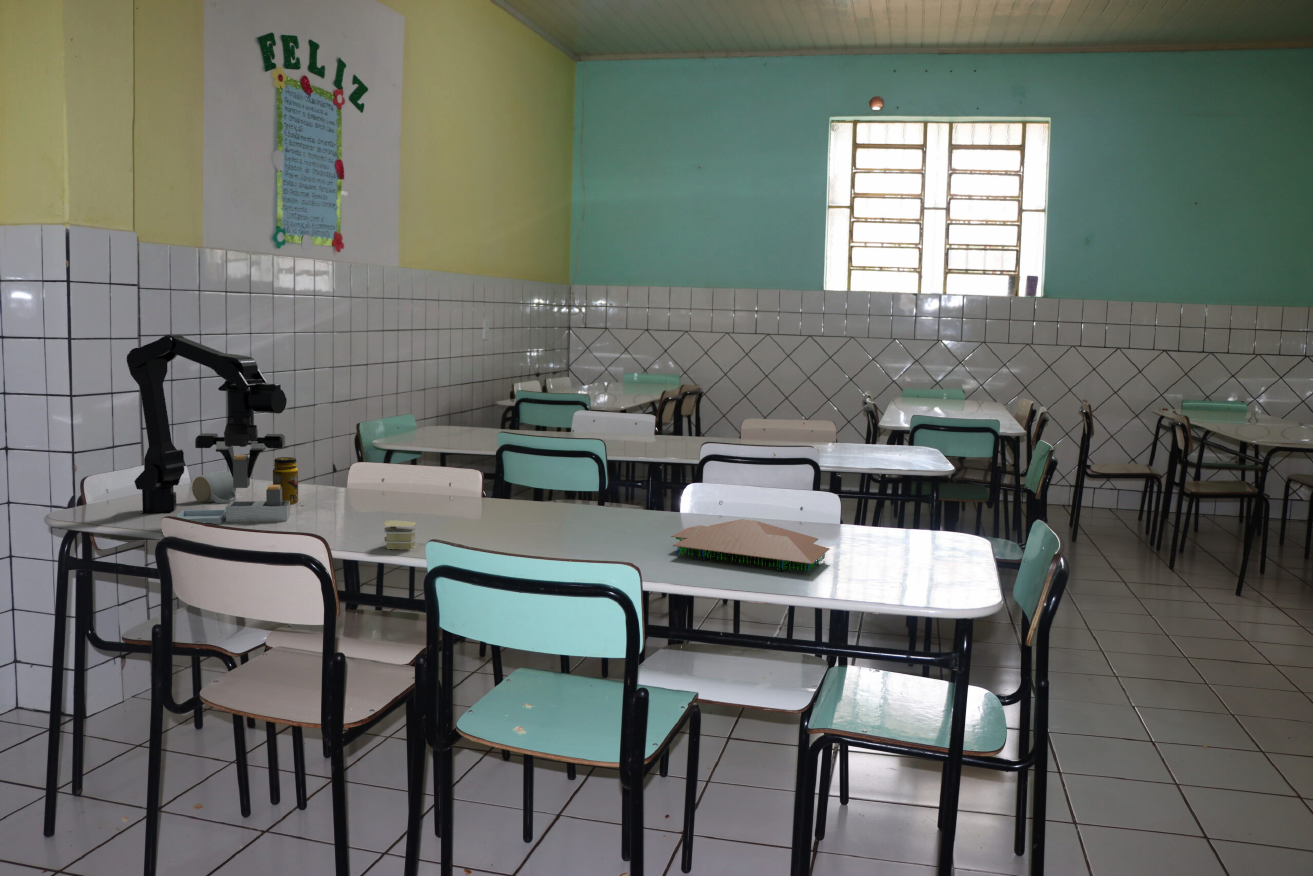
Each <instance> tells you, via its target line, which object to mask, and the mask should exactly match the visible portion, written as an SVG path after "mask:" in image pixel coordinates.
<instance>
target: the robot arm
mask: <svg viewBox="0 0 1313 876" xmlns="http://www.w3.org/2000/svg"><path fill="white" fill-rule="evenodd" d="M177 356H179V357H181V358H184V359H187V360H189V361H192V362H194V363H197V364H200V365H203V366H204V367H207V368H210V369H211V370H213V371H214V372H215V374H216V375H217V376H219V377H220V378H222V379H223V380H225V381H224V383H223V384H222V385H220V386H219V387H218V388H217V389H218V391H220V392H226V407H227V408H226V410H227V412H226V413H227V414H226V415H227V416H226V418H227V420H226V421H227V422H226V425H225V429H224V431H223V436H219V435H218V433H214V432H213V433H211V432H210V433H209V432H208V433H205V432H204V433H203V432H202V433H200V434H199V435H197V436H196V437H195V441H194V444H195V445H194V446H195V449H210V448H212V447H213V446H214V445H215V446H216V449H215V452H216V453H220V454H221V455H222V456H223V458H224V460H225V462H226V464H227V466H228V469H229V473H230V474H231V475H232V477H233V459H234V458H235V453H234V447H239V448H240V447H241V448H245V447H248V446H250V447H251V448H250V449H249V452H248V453H249V456H248V457H249V466H248V478H250V479H251V477H252V473H253V471H254V468H255V465H256V462H257V460H258V458H259V456H260V453H263V452H265V450H267V449H283V448H284V447H285V446H286V436H285V435H284V434H283V433H266V434H265V435H264V436H258V435H259V432H258V426H257V424H255V413H266V414H275V415H277V414H278V415H279V414H281V413H283V412H284V411H285V409H286V407H287V403H288V402H287V400H288V399H287V397H286V393H285V392H284V390H283V389H282V388H281V387H282V385H281V383H268V381H267V379H266V378H265V377H264V375H263V374H262V372H261V370H260V368H259V367H258V364H257V360H255V358H253V357H252V356H248V355H242V354H237V353H235V354H234V353H227V352H223V351H219V350H217V349H214V348H211V347H210V346H207V345H204V344H201V343H199V342H197V341H194V340H191V339H188V338H186V337H184V336H183V335H181V334H165V335H163V336H162V337H161V338H159V339H157V340H154V341H152V342H150V343H147V344H144V345H142V346H140V347H135V348H131V350H129V352H128V354H127V355H126V364H127V367H128V370H129V373H130V376H131V377H132V378H133V380H134V381H135V382H136V384H137V385H138V387H139V391H140V396H141V398H140V399H141V404H142V405H141V406H142V409H143V411H142V412H143V417H144V423H145V429H146V437H147V443H148V448H147V450H146V453H145V455H144V459H143V461H144V462H143V465H144V466H143V467H144V468H143V470H142V471H141V473H140V474H139V475H138V476H137V477H136V479H135V480H134V485H135V488H136V490H139V491H140V490H141V498H142V499H141V500H142V511H141V512H140V515H145V514H146V515H149V514H151V515H154V514H158V515H159V514H161V515H162V514H172V512H175V510H177V507H178V506H177V492H176V491H174V486H178V485H179V484H180V482H181V481H180V480H181V477H182V476H183V475H184V473H185V467H186V466H187V464H186V462H185V457H184V456H185V455H184V454H185V453H184V451H183V449H182V448H180V449H177V448H176V447H175V445H174V444H173V441H172V435H171V429H170V423H169V416H168V410H167V409H168V408H167V405H166V403H167V402H166V398H165V397H166V395H165V391H164V381H165V379H166V376H167V373H168V363H171V361H173V360H175V359H176V358H177Z"/></svg>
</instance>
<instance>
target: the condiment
mask: <svg viewBox="0 0 1313 876" xmlns="http://www.w3.org/2000/svg"><path fill="white" fill-rule="evenodd" d="M273 461H274V464H273V466H274V467H273V470H272V485H280V486H281V487H282V501H290V506H291V505H295V504H298V502H299V469H298V468H297V458H296V457H293V456H292V457H291V456H290V457H289V456H282V457H275V459H274V460H273ZM301 506H305V504H304V503H300V504H299V507H301Z"/></svg>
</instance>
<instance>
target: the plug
mask: <svg viewBox="0 0 1313 876" xmlns="http://www.w3.org/2000/svg"><path fill="white" fill-rule="evenodd" d="M249 457H250V456H249V455H248V454H236V455H234V459H233V488H236V489H248V488H249V487H250V486H251V477H250V478H248V466H249Z"/></svg>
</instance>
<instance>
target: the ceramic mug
mask: <svg viewBox="0 0 1313 876" xmlns="http://www.w3.org/2000/svg"><path fill="white" fill-rule="evenodd" d="M191 491H192V495H193V497H194V498H195V500H196V501H197V502H199V503H201V504H212V503H216V504H218V505H219V504H229V503H230V502H231V501H237V493H236V492H237V488H233V477H232V475H231V472H230V471H228V470H219V471H214V472H211V473H206V474H201V475H199V476H197V477H196V478H194V480H193V481H192V487H191Z"/></svg>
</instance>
